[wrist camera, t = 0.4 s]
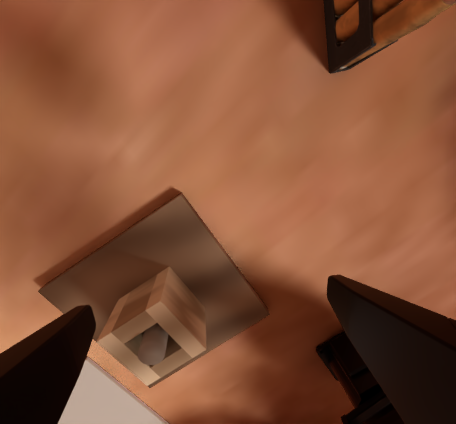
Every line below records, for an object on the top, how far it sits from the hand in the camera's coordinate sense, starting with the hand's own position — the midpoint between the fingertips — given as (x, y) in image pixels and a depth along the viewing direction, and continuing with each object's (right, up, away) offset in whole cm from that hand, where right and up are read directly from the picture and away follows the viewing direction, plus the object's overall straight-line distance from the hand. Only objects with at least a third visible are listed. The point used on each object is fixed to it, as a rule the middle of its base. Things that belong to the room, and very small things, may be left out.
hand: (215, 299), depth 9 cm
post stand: (-6, -6, +15) cm, 17 cm away
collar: (-6, -6, +14) cm, 16 cm away
